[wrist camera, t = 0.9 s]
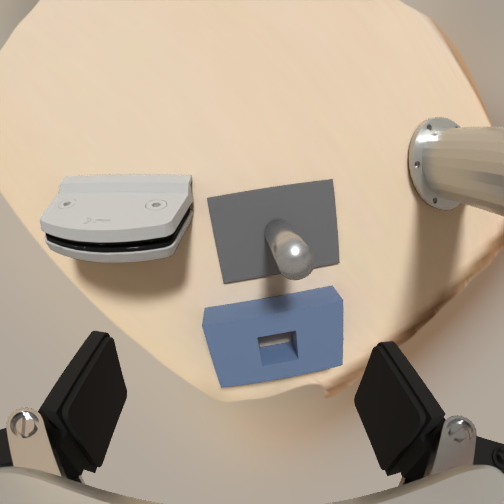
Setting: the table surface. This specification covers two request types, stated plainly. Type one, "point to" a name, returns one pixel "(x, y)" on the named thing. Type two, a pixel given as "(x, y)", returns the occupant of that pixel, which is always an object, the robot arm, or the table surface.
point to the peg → (289, 250)
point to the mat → (260, 214)
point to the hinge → (118, 216)
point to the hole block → (269, 323)
